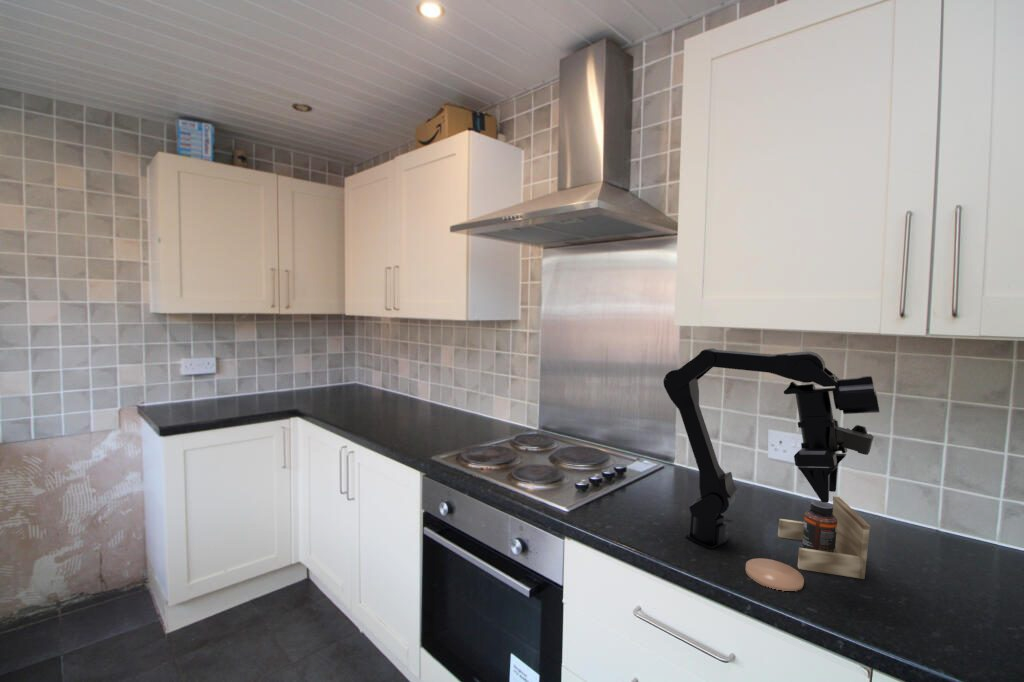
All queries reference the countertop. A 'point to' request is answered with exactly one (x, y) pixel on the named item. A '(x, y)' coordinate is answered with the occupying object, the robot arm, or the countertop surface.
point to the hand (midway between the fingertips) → (829, 496)
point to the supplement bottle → (820, 527)
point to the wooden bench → (848, 545)
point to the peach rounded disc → (774, 574)
